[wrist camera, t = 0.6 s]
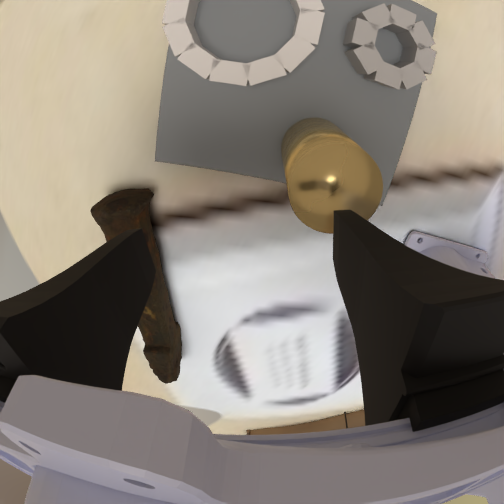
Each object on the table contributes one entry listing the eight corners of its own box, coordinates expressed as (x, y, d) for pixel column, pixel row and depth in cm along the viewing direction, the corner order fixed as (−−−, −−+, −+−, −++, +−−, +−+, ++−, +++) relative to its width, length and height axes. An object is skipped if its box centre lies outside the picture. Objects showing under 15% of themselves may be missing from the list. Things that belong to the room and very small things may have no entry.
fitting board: (429, 14, 12) (453, 10, 10) (377, 199, 20) (392, 220, 18) (193, -45, 11) (181, -61, 9) (159, 156, 19) (143, 171, 17)
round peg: (354, 127, 16) (395, 159, 11) (336, 186, 19) (364, 241, 13) (289, 110, 16) (301, 132, 11) (274, 173, 18) (278, 223, 13)
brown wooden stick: (108, 185, 21) (76, 215, 17) (157, 183, 20) (132, 213, 16) (155, 353, 31) (144, 388, 27) (190, 356, 31) (182, 393, 27)
